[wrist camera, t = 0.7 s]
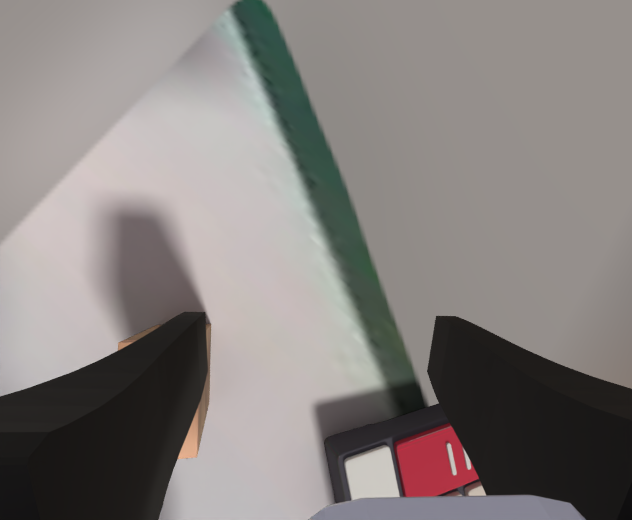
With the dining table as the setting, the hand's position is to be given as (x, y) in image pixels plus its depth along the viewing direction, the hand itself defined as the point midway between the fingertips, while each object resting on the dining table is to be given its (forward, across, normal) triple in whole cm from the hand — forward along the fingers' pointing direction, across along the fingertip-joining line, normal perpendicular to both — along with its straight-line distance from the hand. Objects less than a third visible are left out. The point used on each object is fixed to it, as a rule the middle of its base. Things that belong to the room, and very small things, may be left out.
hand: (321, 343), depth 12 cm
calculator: (+15, -10, +22) cm, 28 cm away
